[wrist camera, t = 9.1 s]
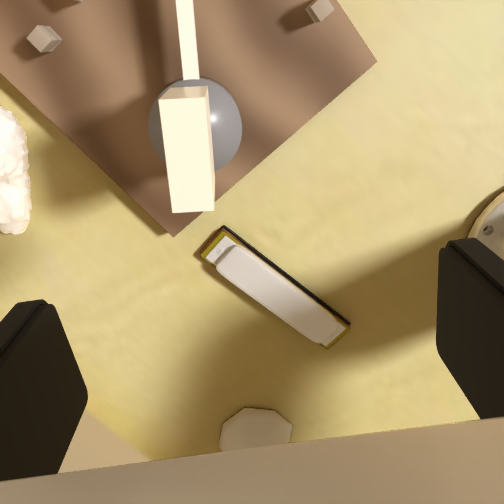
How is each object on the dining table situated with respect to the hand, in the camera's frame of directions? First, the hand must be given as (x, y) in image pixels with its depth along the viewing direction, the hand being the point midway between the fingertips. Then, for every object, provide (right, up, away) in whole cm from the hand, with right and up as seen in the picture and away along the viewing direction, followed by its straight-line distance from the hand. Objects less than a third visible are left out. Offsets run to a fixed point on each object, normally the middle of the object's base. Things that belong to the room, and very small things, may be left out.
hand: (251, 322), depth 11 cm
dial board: (-5, +15, +19) cm, 24 cm away
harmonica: (+2, -1, +28) cm, 28 cm away
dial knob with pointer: (-4, +14, +17) cm, 22 cm away
